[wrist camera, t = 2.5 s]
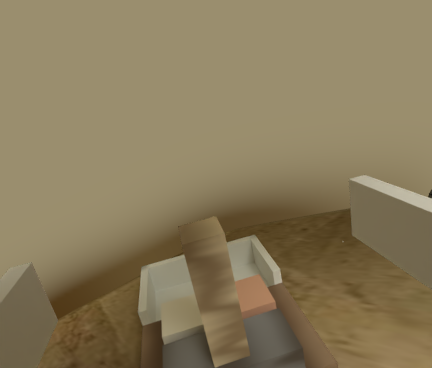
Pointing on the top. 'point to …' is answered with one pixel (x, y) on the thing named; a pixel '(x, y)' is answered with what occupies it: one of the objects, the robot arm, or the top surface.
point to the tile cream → (180, 319)
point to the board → (309, 339)
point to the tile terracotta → (254, 296)
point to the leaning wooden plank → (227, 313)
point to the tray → (181, 282)
